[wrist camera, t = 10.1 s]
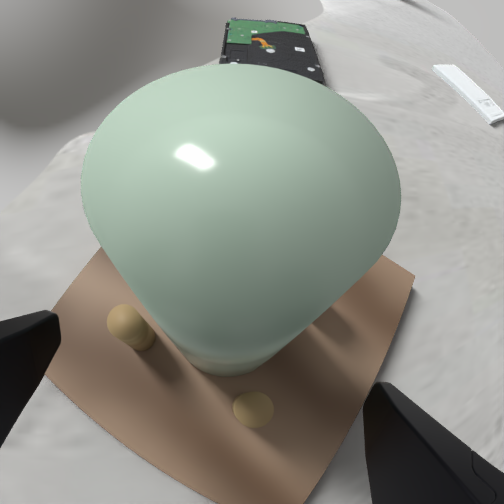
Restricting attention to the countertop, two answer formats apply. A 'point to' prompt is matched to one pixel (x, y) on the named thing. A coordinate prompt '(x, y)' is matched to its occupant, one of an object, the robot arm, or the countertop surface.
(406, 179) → the countertop surface
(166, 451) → the wooden peg board
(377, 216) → the canister
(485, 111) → the external hard drive
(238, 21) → the disk drive
